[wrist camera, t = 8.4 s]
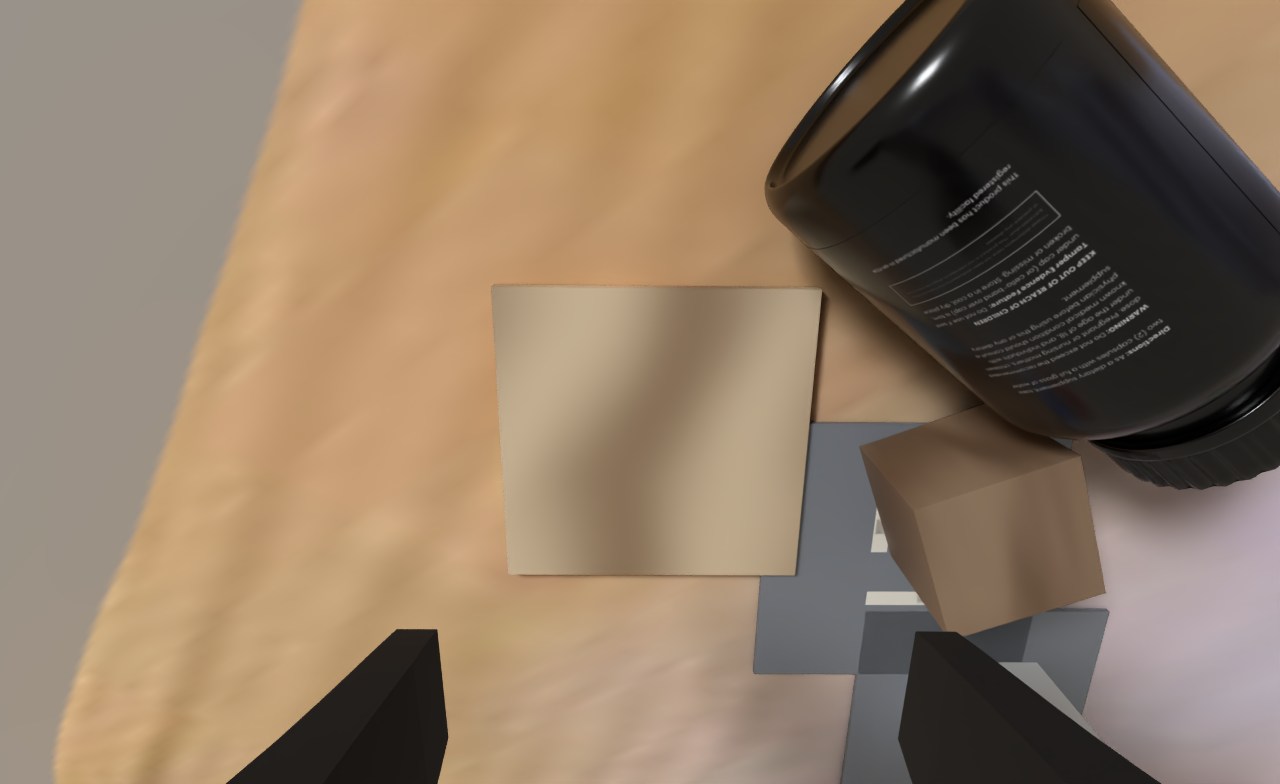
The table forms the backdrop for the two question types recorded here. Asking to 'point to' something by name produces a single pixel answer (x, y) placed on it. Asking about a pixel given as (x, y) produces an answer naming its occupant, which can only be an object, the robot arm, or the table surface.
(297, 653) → the table surface
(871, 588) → the tile
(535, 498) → the pad
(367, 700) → the robot arm
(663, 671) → the table surface
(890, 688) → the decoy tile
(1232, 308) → the supplement bottle
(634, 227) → the table surface
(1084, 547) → the walnut block
